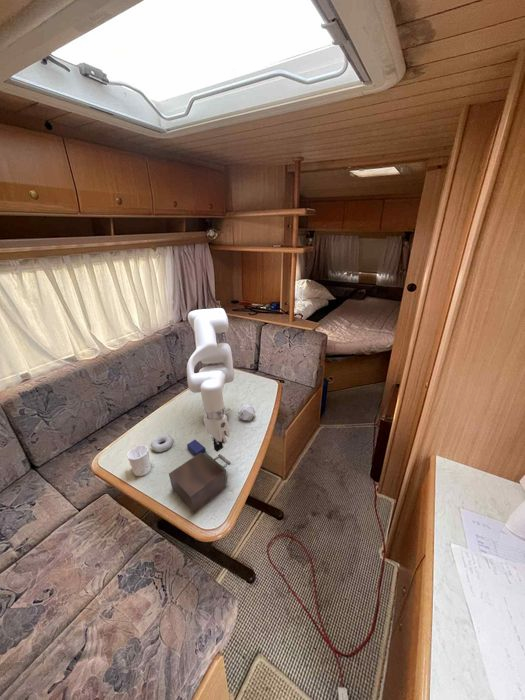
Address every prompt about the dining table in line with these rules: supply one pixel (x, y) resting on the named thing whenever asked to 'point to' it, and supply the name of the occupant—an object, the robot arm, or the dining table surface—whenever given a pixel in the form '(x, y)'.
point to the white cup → (139, 460)
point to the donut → (164, 446)
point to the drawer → (219, 464)
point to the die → (246, 412)
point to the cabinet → (197, 481)
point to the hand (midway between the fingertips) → (218, 449)
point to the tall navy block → (196, 447)
